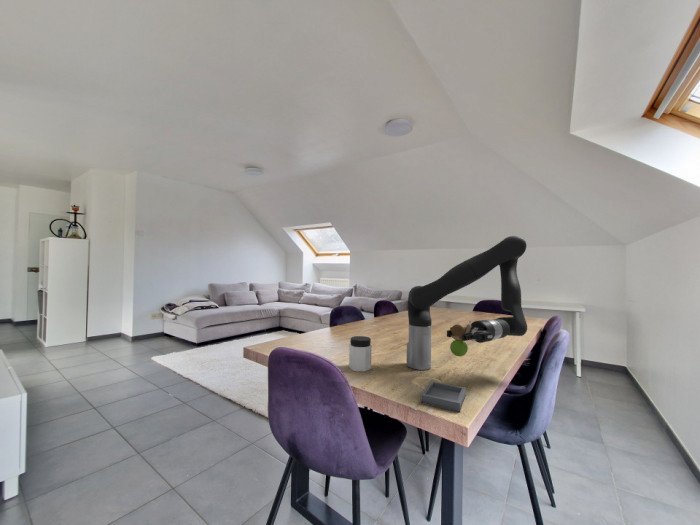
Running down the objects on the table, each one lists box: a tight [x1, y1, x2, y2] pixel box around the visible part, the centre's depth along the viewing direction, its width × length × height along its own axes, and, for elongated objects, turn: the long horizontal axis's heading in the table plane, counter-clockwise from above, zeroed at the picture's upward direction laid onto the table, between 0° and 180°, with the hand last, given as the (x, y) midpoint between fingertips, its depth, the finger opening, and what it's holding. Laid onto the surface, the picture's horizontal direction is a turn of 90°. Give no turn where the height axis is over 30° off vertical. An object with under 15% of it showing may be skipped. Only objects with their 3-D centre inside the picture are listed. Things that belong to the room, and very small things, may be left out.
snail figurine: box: [449, 320, 472, 357], centre depth 98 cm, size 5×6×12 cm
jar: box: [348, 335, 373, 373], centre depth 119 cm, size 9×8×12 cm
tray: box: [420, 380, 467, 413], centre depth 92 cm, size 11×13×2 cm
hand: (455, 335), depth 96 cm, fingers closed on snail figurine, 5 cm apart
